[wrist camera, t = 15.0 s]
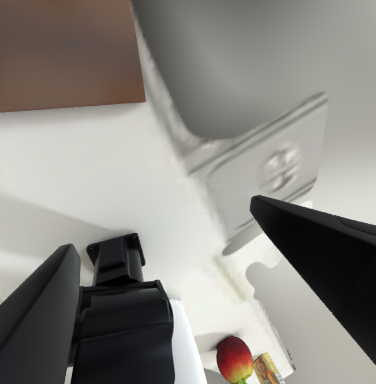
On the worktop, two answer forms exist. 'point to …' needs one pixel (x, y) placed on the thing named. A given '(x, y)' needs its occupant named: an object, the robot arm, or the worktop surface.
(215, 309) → the worktop surface
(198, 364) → the cup
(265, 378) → the candy box
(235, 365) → the fruit
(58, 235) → the worktop surface
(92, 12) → the cutting board
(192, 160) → the worktop surface
